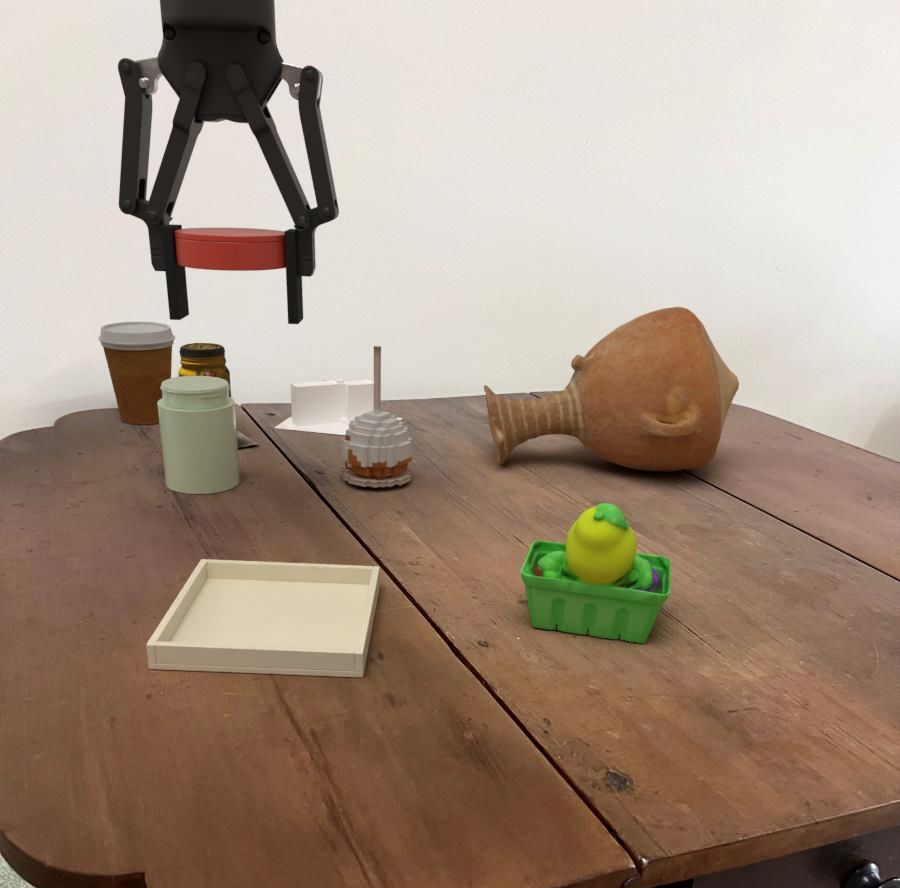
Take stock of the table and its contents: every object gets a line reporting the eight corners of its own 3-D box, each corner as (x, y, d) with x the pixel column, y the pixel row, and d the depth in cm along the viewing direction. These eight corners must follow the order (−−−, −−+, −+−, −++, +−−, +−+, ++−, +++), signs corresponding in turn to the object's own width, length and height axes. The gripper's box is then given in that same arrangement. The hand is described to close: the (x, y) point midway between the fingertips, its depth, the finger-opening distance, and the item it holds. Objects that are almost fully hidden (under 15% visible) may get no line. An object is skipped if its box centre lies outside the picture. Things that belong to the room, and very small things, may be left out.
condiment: (174, 439, 116) (165, 342, 110) (238, 432, 120) (232, 338, 115) (193, 455, 110) (185, 353, 105) (260, 446, 114) (255, 348, 109)
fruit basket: (663, 611, 77) (683, 483, 72) (660, 662, 69) (683, 521, 64) (528, 593, 79) (539, 467, 74) (511, 640, 71) (522, 503, 66)
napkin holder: (272, 428, 122) (271, 385, 120) (301, 408, 132) (300, 368, 130) (381, 438, 120) (382, 395, 117) (403, 417, 130) (403, 377, 127)
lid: (294, 271, 66) (293, 237, 65) (176, 270, 64) (173, 235, 63) (285, 259, 73) (283, 228, 72) (178, 258, 71) (175, 226, 70)
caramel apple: (367, 466, 109) (368, 337, 103) (423, 478, 106) (427, 345, 99) (328, 483, 103) (325, 346, 96) (386, 496, 100) (387, 356, 93)
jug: (783, 400, 96) (499, 427, 95) (736, 499, 113) (495, 523, 112) (736, 263, 105) (477, 287, 104) (699, 374, 122) (475, 395, 121)
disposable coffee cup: (93, 418, 123) (81, 326, 117) (151, 406, 130) (142, 318, 125) (139, 432, 118) (129, 336, 113) (197, 418, 125) (189, 327, 120)
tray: (148, 669, 65) (145, 644, 64) (202, 580, 79) (200, 558, 78) (362, 677, 65) (362, 653, 64) (379, 587, 79) (380, 566, 78)
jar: (155, 492, 98) (145, 389, 93) (176, 469, 105) (167, 373, 100) (230, 495, 98) (224, 393, 93) (246, 472, 105) (240, 376, 100)
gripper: (378, -20, 64) (378, 316, 74) (76, -32, 64) (116, 307, 74) (369, -41, 57) (370, 332, 67) (32, -55, 57) (82, 322, 67)
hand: (237, 318), depth 70 cm, fingers closed on lid, 8 cm apart
